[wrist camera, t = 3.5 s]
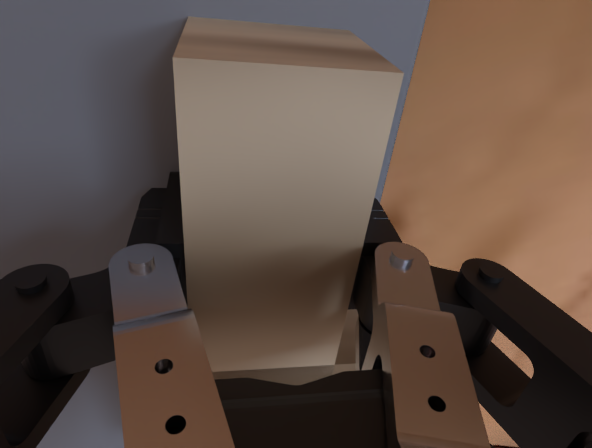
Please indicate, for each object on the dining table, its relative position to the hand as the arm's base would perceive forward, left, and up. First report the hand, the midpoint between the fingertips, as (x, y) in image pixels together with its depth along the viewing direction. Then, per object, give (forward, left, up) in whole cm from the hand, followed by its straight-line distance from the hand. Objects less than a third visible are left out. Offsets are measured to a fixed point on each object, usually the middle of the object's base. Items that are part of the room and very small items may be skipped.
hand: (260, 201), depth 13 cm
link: (0, +3, 0) cm, 3 cm away
